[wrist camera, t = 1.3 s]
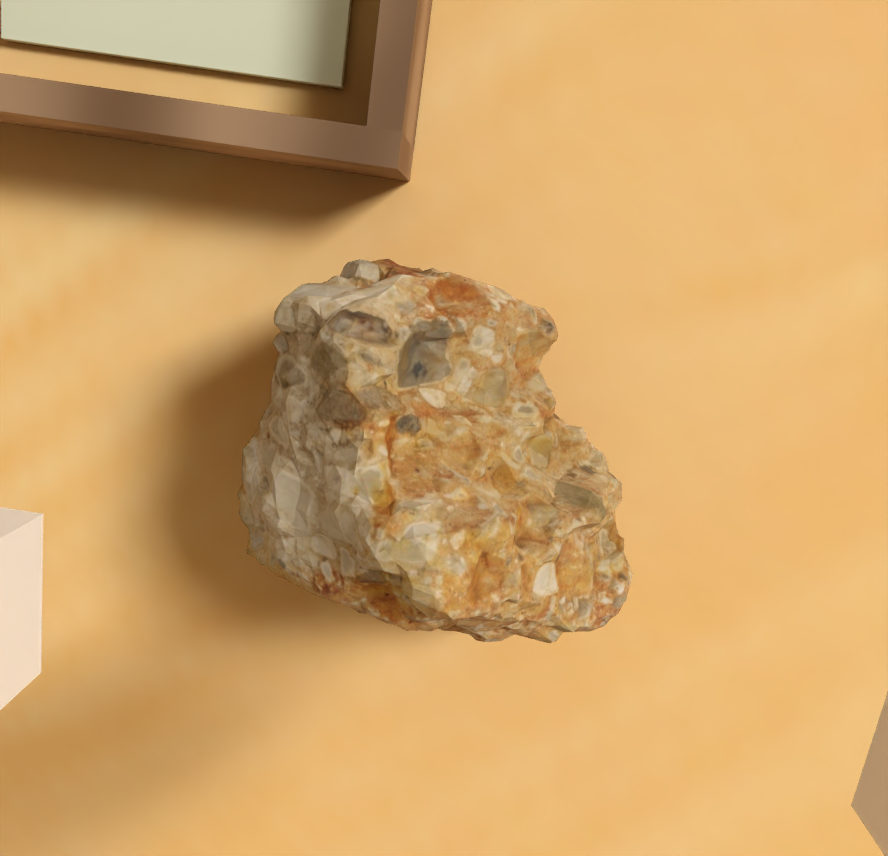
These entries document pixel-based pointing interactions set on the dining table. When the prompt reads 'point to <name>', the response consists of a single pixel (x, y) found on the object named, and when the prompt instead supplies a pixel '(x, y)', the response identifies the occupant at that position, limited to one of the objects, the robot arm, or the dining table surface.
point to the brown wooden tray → (254, 111)
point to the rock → (430, 462)
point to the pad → (196, 33)
